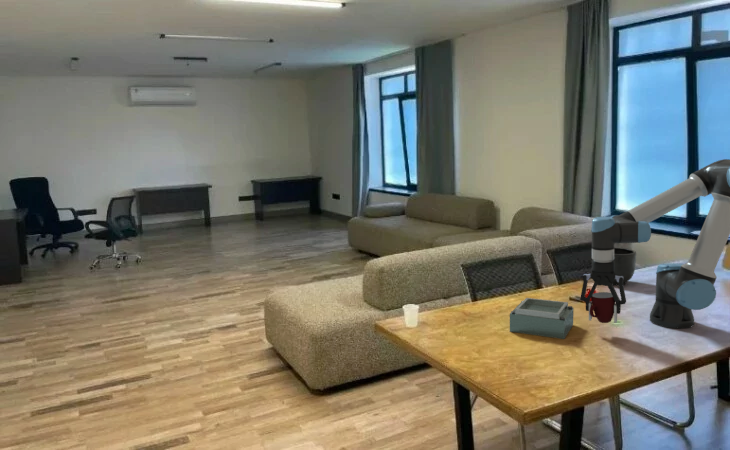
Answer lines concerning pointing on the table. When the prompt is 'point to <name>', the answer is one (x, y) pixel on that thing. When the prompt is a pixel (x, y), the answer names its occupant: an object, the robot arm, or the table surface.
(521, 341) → the table surface
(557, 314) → the grey rectangular container
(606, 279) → the robot arm
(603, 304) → the mug
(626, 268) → the planter
